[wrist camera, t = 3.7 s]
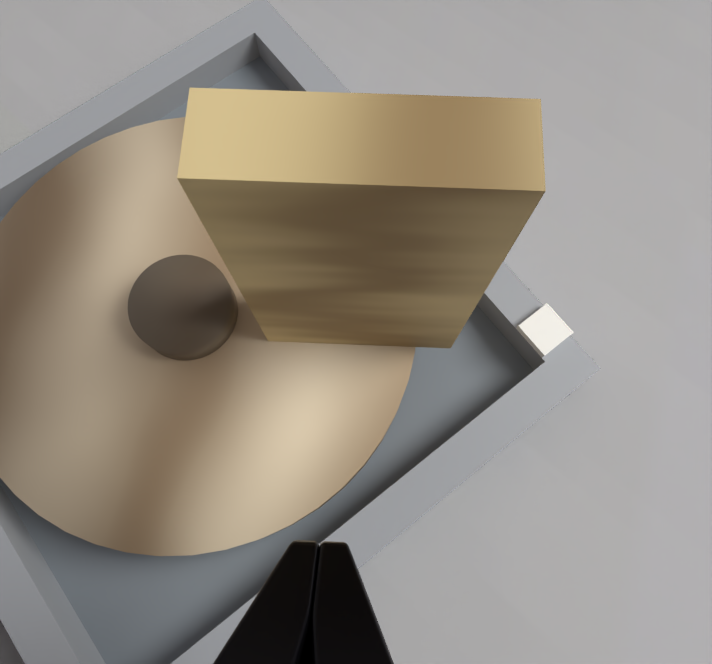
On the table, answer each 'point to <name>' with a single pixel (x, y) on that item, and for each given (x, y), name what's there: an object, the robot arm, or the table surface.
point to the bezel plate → (349, 506)
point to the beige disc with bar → (243, 303)
